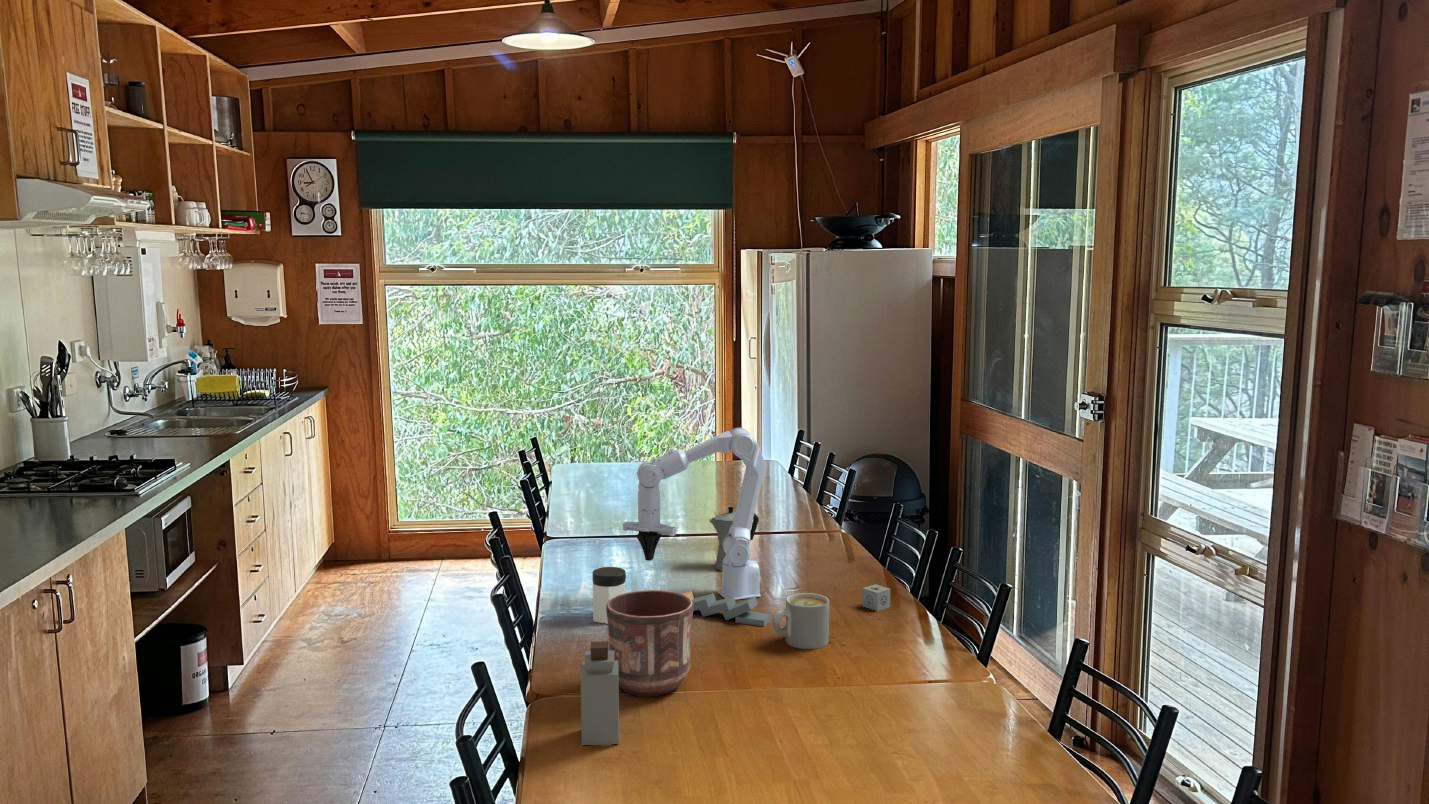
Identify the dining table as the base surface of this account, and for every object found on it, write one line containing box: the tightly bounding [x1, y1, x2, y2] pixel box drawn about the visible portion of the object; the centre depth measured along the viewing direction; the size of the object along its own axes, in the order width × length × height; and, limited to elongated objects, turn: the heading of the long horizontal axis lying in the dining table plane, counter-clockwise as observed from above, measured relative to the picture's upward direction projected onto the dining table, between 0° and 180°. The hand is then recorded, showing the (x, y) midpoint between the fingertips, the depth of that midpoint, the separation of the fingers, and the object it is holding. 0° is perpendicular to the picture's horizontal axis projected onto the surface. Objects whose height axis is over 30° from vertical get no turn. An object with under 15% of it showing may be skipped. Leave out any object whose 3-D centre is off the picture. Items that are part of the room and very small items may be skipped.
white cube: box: [861, 583, 891, 612], centre depth 265 cm, size 5×5×5 cm
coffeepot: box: [708, 506, 760, 572], centre depth 297 cm, size 15×9×18 cm, turn 113°
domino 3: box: [699, 596, 737, 617], centre depth 258 cm, size 2×5×8 cm
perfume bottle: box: [580, 640, 620, 746], centre depth 192 cm, size 7×7×18 cm
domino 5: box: [734, 610, 772, 627], centre depth 255 cm, size 2×5×8 cm
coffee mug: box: [772, 592, 830, 650], centre depth 241 cm, size 13×10×10 cm
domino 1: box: [681, 590, 695, 600], centre depth 263 cm, size 2×5×8 cm
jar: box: [592, 566, 627, 625], centre depth 255 cm, size 9×8×12 cm
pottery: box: [606, 589, 694, 697], centre depth 215 cm, size 18×18×18 cm
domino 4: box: [722, 596, 759, 621], centre depth 256 cm, size 2×5×8 cm
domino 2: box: [692, 593, 717, 612], centre depth 260 cm, size 2×5×8 cm
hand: (649, 559), depth 270 cm, fingers closed
